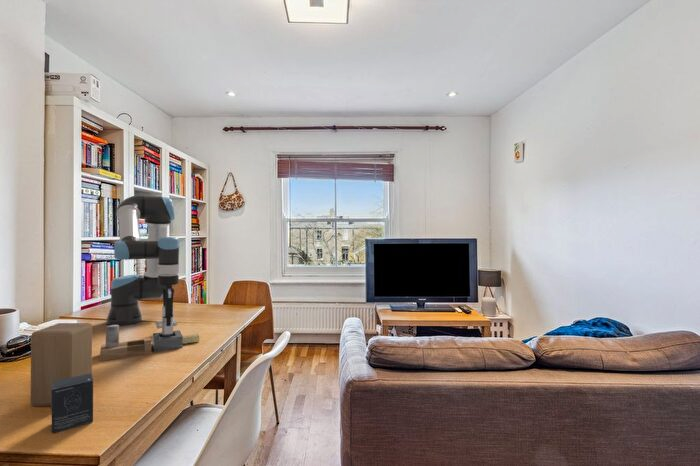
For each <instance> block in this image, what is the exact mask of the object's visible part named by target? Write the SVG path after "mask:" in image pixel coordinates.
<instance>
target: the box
mask: <svg viewBox="0 0 700 466" xmlns="http://www.w3.org/2000/svg"><path fill="white" fill-rule="evenodd" d="M92 373H93V372H92ZM92 373H90V374H85V375H80V376H75V377H71V378H66V379H61V380H56V381H53V383H52V406H51V431H50V432H51V433H52V434H55V433H59V432H62V431H64V430H65V431H66V430H68V429H72V428H75V427H80V426H82V425H87V424H89V423H93V422H94V378H93V374H92Z"/></svg>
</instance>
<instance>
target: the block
mask: <svg viewBox="0 0 700 466" xmlns="http://www.w3.org/2000/svg"><path fill="white" fill-rule="evenodd" d="M92 362H93V325H92V323H91V322H67V323H65V322H62V323H61V322H59V323H56V324H53V325H49V326H47V327H45V328H41V329H39V330H36V331H34V332H32V333H31V335H30V405H31V406H32V407H43V406H44V407H46V406H48V407H50V406H51V407H52V383H53V381H56V380H61V379H66V378H71V377H75V376H80V375H85V374H90V373H93V372H92V371H93V370H92V369H93V368H92V366H93V365H92V364H93V363H92Z"/></svg>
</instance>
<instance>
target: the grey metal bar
mask: <svg viewBox="0 0 700 466" xmlns="http://www.w3.org/2000/svg"><path fill="white" fill-rule="evenodd" d="M163 317H165V306H163V305H162V311H161V321H162V328H161V332H162V338H163V337H170V336H173V331H174V326H173V319H174V316H173V317H172V333H170V334H164V318H163Z"/></svg>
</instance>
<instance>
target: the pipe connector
mask: <svg viewBox="0 0 700 466" xmlns="http://www.w3.org/2000/svg"><path fill="white" fill-rule="evenodd" d="M155 325H156V329H160V328H161V329H162V320H156V321H155ZM177 326H178V322H177V320H176V319H175V318H173V327H177Z"/></svg>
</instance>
